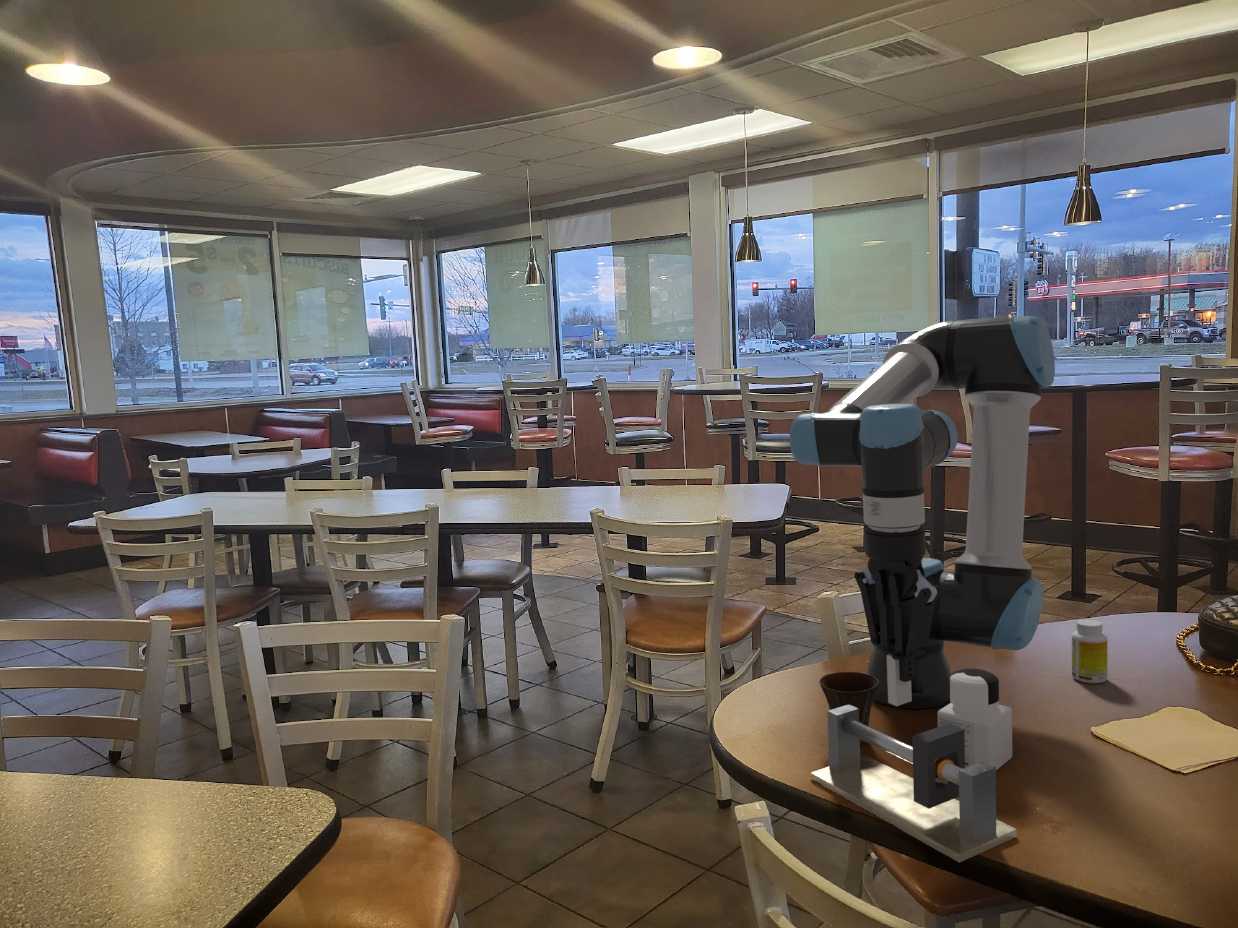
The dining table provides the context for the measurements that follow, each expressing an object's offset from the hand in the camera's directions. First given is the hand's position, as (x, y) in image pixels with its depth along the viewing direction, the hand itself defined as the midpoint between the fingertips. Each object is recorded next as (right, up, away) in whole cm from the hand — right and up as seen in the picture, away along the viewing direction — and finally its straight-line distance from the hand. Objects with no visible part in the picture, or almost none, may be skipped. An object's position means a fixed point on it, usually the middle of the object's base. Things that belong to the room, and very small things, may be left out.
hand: (899, 701), depth 120 cm
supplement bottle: (+46, -7, +41) cm, 61 cm away
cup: (-1, -12, +22) cm, 25 cm away
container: (+15, -12, +12) cm, 23 cm away
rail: (+1, -14, 0) cm, 14 cm away
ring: (+3, -11, -5) cm, 12 cm away
